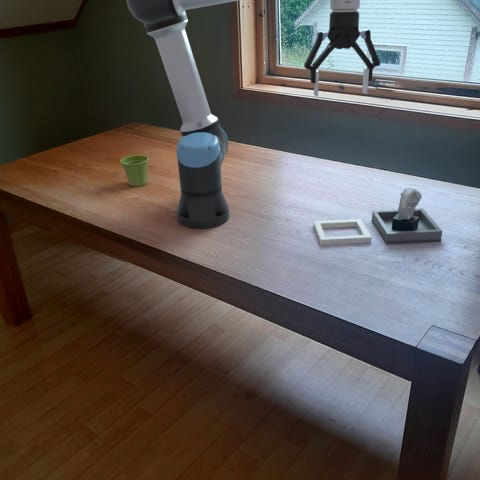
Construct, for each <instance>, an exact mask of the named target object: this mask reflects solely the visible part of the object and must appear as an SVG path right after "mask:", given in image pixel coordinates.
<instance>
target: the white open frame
mask: <svg viewBox="0 0 480 480" xmlns="http://www.w3.org/2000/svg"><path fill="white" fill-rule="evenodd" d="M350 227H351V228H353V227H356V229H357V230H358V232H359V235H357V234H356V235H336V236H335V235H334V236H326V234H325V232H324V230H323V229H335V228H350ZM313 229H314V230H315V234H316V237H317V239H318V242H319V244H320V246H327V245H329V246H330V245H346V244H347V245H348V244H364V243H372V236H371V234H370V232H369V230H368V229H367V226H366V225H365V223H364V221H363V220H362V218H353V219H352V218H350V219H332V220H330V219H329V220H314V221H313Z"/></svg>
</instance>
